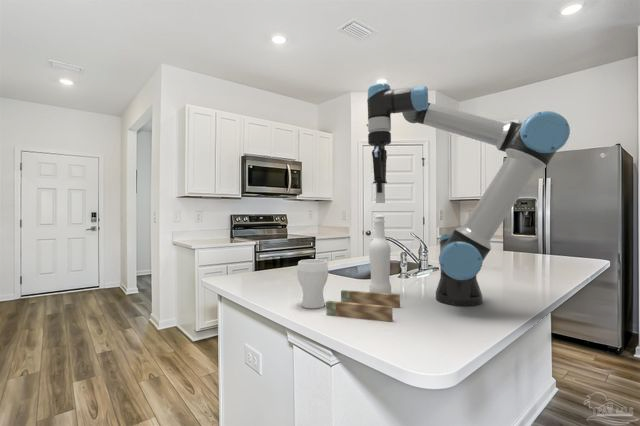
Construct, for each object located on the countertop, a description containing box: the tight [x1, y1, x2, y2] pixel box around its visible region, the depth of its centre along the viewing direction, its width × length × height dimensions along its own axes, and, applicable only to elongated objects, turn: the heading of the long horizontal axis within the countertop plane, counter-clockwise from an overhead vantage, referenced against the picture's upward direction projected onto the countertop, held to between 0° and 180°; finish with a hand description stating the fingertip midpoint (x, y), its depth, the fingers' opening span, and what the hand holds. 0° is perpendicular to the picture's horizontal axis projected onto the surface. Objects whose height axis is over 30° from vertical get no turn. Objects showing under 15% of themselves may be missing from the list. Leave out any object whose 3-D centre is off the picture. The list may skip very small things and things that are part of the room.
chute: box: [325, 289, 401, 322], centre depth 109 cm, size 20×16×4 cm
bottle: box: [368, 214, 392, 294], centre depth 127 cm, size 8×8×30 cm
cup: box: [296, 258, 329, 309], centre depth 115 cm, size 11×11×15 cm
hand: (380, 202), depth 114 cm, fingers closed
